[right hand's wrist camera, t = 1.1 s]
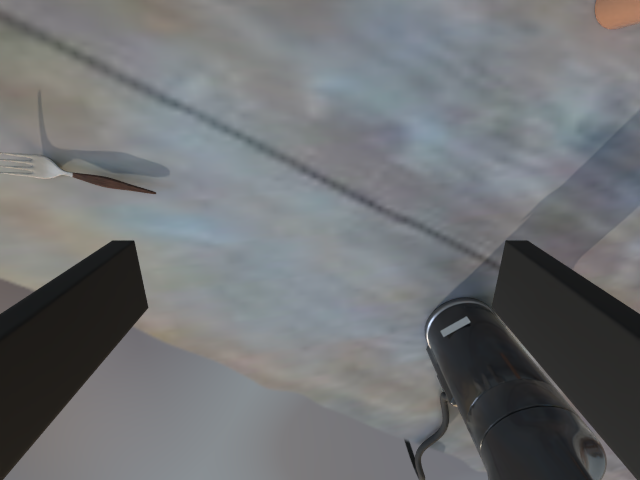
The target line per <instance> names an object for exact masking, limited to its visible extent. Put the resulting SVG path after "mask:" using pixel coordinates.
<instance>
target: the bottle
mask: <svg viewBox="0 0 640 480" xmlns="http://www.w3.org/2000/svg"><path fill="white" fill-rule="evenodd" d="M595 15H596V18H597V21H598V22H599V23H600V25H602V26H603V27H605V28H607V29H619V28H623V27H627V26H631V25H635V24H638V23H640V0H596V4H595Z"/></svg>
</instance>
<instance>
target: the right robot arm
mask: <svg viewBox="0 0 640 480" xmlns="http://www.w3.org/2000/svg"><path fill="white" fill-rule="evenodd" d="M147 309H148V304H147V299H146V294H145V290H144V285H143V280H142V275H141V271H140V266H139V261H138V256H137V252H136V247H135V242H134V241H111V242H110V243H108V244H107V245H105V246H104V247H102V248H100V249H99V250H97V251H96V252H94V253H93V254H91V255H90V256H88V257H87V258H85V259H84V260H82V261H81V262H79V263H78V264H76V265H75V266H73V267H71V268H70V269H68V270H67V271H65V272H64V273H62V274H61V275H59V276H58V277H56V278H55V279H53V280H52V281H50V282H49V283H47V284H46V285H44V286H42V287H41V288H39V289H38V290H36V291H35V292H33V293H32V294H30V295H29V296H27V297H26V298H24V299H23V300H21V301H20V302H18V303H17V304H15V305H14V306H12V307H10V308H9V309H7V310H6V311H4V312H3V313H1V314H0V480H3V479H4V478H5V477H6V475H7V474H8V473H9V472H10V471H11V469H12V468H13V467H14V466H15V465H16V464H17V462H18V461H19V460H20V459H21V458H22V456H23V455H24V454H25V453H26V452H27V451H28V449H29V448H30V447H31V446H32V445H33V444H34V442H35V441H36V440H37V439H38V438H39V436H40V435H41V434H42V433H43V432H44V431H45V429H46V428H47V427H48V426H49V425H50V423H51V422H52V421H53V420H54V419H55V417H56V416H57V415H58V414H59V413H60V412H61V410H62V409H63V408H64V407H65V406H66V404H67V403H68V402H69V401H70V400H71V399H72V397H73V396H74V395H75V394H76V393H77V391H78V390H79V389H80V388H81V387H82V386H83V384H84V383H85V382H86V381H87V380H88V378H89V377H90V376H91V375H92V374H93V373H94V371H95V370H96V369H97V368H98V367H99V365H100V364H101V363H102V362H103V361H104V360H105V358H106V357H107V356H108V355H109V354H110V352H111V351H112V350H113V349H114V348H115V347H116V345H117V344H118V343H119V342H120V341H121V339H122V338H123V337H124V336H125V335H126V334H127V332H128V331H129V330H130V329H131V328H132V326H133V325H134V324H135V323H136V322H137V321H138V319H139V318H140V317H141V316H142V315H143V313H144V312H145V311H146V310H147ZM492 309H493V310H494V311H495V312H496V313H497V315H498V316H499V317H500V318H501V319H502V321H503V322H504V323H505V324H506V325H507V326H508V328H509V329H510V330H511V331H512V332H513V334H514V335H515V336H516V337H517V338H518V339H519V341H520V342H521V343H522V344H523V345H524V347H525V348H526V349H527V350H528V351H529V352H530V354H531V355H532V356H533V357H534V358H535V360H536V361H537V362H538V363H539V364H540V365H541V367H542V368H543V369H544V370H545V371H546V373H547V374H548V375H549V376H550V377H551V378H552V380H553V381H554V382H555V383H556V384H557V386H558V387H559V388H560V389H561V390H562V391H563V393H564V394H565V395H566V396H567V397H568V399H569V400H570V401H571V402H572V403H573V404H574V406H575V407H576V408H577V409H578V410H579V412H580V413H581V414H582V415H583V416H584V417H585V419H586V420H587V421H588V422H589V423H590V425H591V426H592V427H593V428H594V429H595V431H596V432H597V433H598V434H599V435H600V436H601V438H602V439H603V440H604V441H605V442H606V444H607V445H608V446H609V447H610V448H611V449H612V451H613V452H614V453H615V454H616V455H617V457H618V458H619V459H620V460H621V461H622V462H623V464H624V465H625V466H626V467H627V468H628V470H629V471H630V472H631V473H632V474H633V475H634V477H635V478H636V479H637V480H640V314H639V313H637V312H636V311H634V310H633V309H631V308H630V307H628V306H627V305H625V304H623V303H622V302H620V301H619V300H617V299H616V298H614V297H613V296H611V295H610V294H608V293H607V292H605V291H604V290H602V289H601V288H599V287H598V286H596V285H594V284H593V283H591V282H590V281H588V280H587V279H585V278H584V277H582V276H581V275H579V274H578V273H576V272H575V271H573V270H572V269H570V268H569V267H567V266H565V265H564V264H562V263H561V262H559V261H558V260H556V259H555V258H553V257H552V256H550V255H549V254H547V253H546V252H544V251H543V250H541V249H540V248H538V247H536V246H535V245H533V244H532V243H530V242H529V241H506V242H505V247H504V252H503V256H502V261H501V266H500V271H499V275H498V280H497V285H496V290H495V294H494V299H493V304H492Z"/></svg>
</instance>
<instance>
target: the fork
mask: <svg viewBox="0 0 640 480" xmlns="http://www.w3.org/2000/svg"><path fill="white" fill-rule="evenodd" d="M0 154H7V155H14V156H21V157H27V158H31V159H32V160H8V159H0V160H3V161H10V162H18V163H26V164H30V165H32V166H31V167H21V166H0V167H7V168H15V169H24V170H30V171H32V173H13V172H0V173H4V174H13V175H22V176H30V177H36V178H43V179H48V178H53V177H56V176H59V175H67V176H71V177H74V178H77V179H80V180H83V181H86V182H89V183H92V184H95V185H98V186H102V187H107V188H113V189H121V190H129V191H136V192H143V193H150V194H156V192H153V191H150V190H147V189H144V188H140V187H137V186H134V185H130V184H127V183H124V182H121V181H118V180H115V179H112V178H108V177H103V176H97V175H89V174H80V173H72V172H66V171H64V170H62V169H61V168H60V167H58V166H57V165H56V164H55V163H54V162H53V161H52V160H51V159H49V158H47V157H45V156H42V155H33V154H18V153H0Z"/></svg>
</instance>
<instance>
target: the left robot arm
mask: <svg viewBox="0 0 640 480" xmlns="http://www.w3.org/2000/svg"><path fill="white" fill-rule="evenodd" d="M425 337H426V340H427V343H428V347H427V349H426V350H427V352H428V354H429V357H430V359H431V361H432V364H433V366H434V368H435V371H436V373H437V377H438V379H439V382H440V384H441V386H442V389H443V391H445V392H442V393H441V396H440V402H441V407H442V413H443V422H442V425H441V427H440V428H439V430H438V431H437V432H436V433H435V434H434V435H432V436H431V437H430V438H428V439H427V440H426V441H425V442H423V443H422V444H421V445H420V447H419V448H418V450H417V452H416V455H415V456H414V453H413V450H412V447H411V444H410V441H407V440H405V439H404V441H405V444H406V447H407V450H408V453H409V457H410V459H411V462H412V465H413V468H414V470H415V472H416V475H417V477H418V478H419V480H425V475H424V472H423V469H422V465H421V456H422V454H423V452H424V451H425V450H426V449H427V448H428V447H429V446H431V445H432V444H433V443H435V442H436V441H437V440H439V439H440V438H441V437H442V436H443V435H444V433H445V432H446V430H447V428H448V424H449V411H448V405H447V401H449V402H450V404H451V405H453V406H456V407H458V409H459V411H460V413H461V415H462V418H463V420H464V422H465V424H466V426H467V429H468V431H469V433H470V435H471V437H472V439H473V441H474V444H475V446H476V448H477V450H478V452H479V455H480V457H481V459H482V462H483V464H484V466H485V468H486V471H487V474H488V480H601V479H602V478H603V476H604V474H605V471H606V465H607V459H606V454H605V451H604V449H603V447H602V445H601V443H600V442H599V440H598V439H597V438H596V436H595V435H594V434H593V432H592V431H591V430H590V429H589V428H588V426H587V425H586V424H585V423H584V422H583V420H582V419H581V418H580V417H579V416H578V414H577V413H576V412H575V411H574V410H573V408H572V407H571V406H570V405H569V404H568V402H567V401H566V400H565V399H564V398H563V396H562V395H561V394H560V393H559V392H558V390H557V389H556V388H555V387H554V386H553V385H552V383H551V382H550V381H549V380H548V379H547V377H546V376H545V375H544V374H543V372H542V371H541V370H540V369H539V368H538V366H537V365H536V364H535V363H534V362H533V360H532V359H531V358H530V357H529V356H528V354H527V353H526V352H525V351H524V350H523V348H522V347H521V346H520V345H519V344H518V342H517V341H516V340H515V339H514V338H513V336H512V335H511V334H510V333H509V332H508V330H507V329H506V328H505V327H504V325H503V324H502V323H501V322H500V321H499V319H498V318H497V317H496V315H495V313H494V312H493V311H492V310H491V309H490V307H489V306H487V305H486V304H485V303H483V302H481V301H479V300H476V299H472V298H458V299H454V300H451V301H448V302H446V303H444V304H442V305H441V306H439V307H438V308H437V309H435V310H434V311H433V313H432V314H431V315H430V317H429V318H428V320H427V322H426V326H425Z"/></svg>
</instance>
